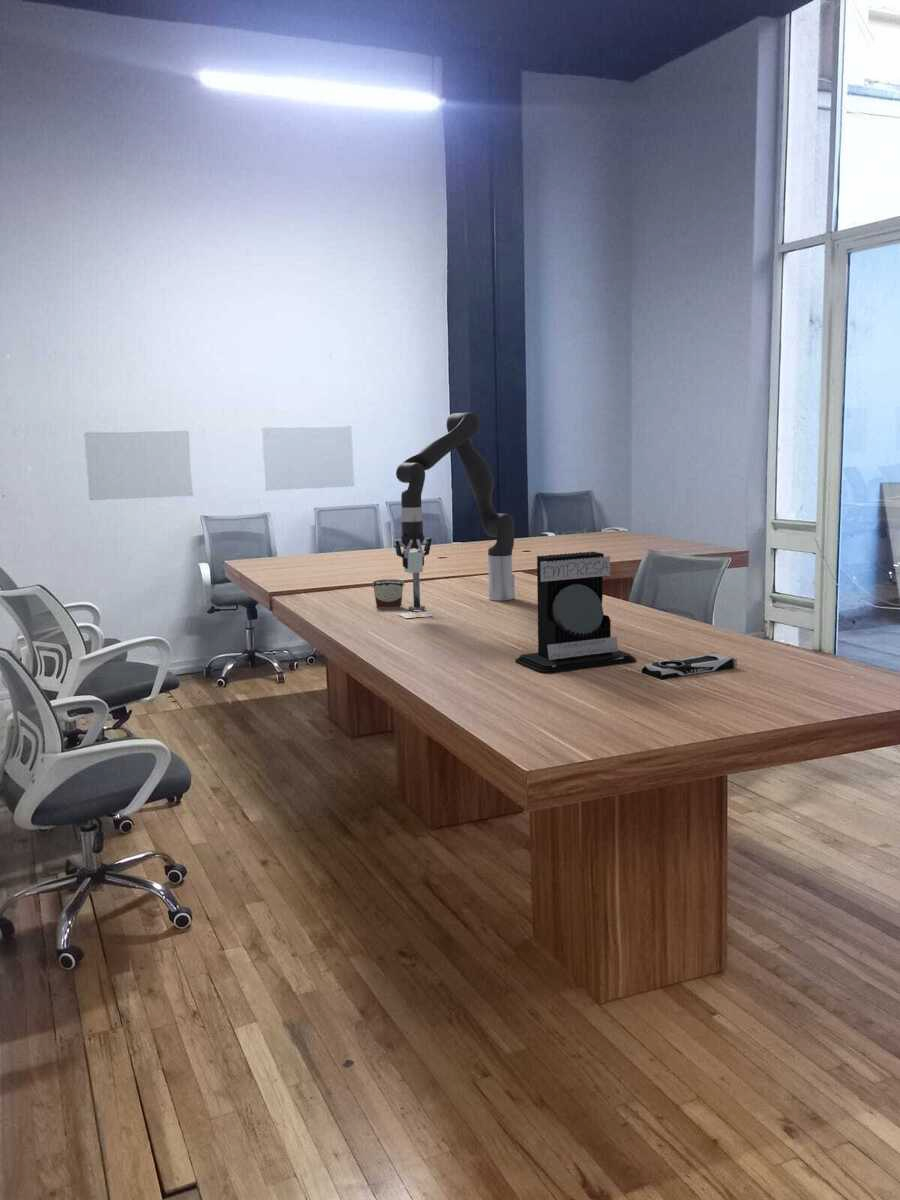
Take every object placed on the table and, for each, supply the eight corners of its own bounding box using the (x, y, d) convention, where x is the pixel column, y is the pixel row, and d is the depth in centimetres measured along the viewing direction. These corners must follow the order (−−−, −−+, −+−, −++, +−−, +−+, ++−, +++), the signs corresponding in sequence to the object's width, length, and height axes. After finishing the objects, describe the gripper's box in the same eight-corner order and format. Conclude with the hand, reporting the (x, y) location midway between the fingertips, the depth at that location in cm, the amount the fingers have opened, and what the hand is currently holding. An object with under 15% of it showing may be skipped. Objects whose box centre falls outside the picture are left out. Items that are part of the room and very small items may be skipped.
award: (543, 675, 270) (542, 563, 265) (511, 661, 287) (509, 556, 282) (640, 662, 282) (640, 555, 277) (604, 649, 299) (603, 548, 294)
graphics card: (737, 657, 271) (661, 669, 261) (737, 670, 272) (661, 681, 261) (712, 650, 280) (638, 661, 270) (712, 662, 281) (638, 674, 270)
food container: (407, 604, 386) (406, 578, 385) (405, 607, 380) (404, 581, 379) (375, 605, 388) (374, 579, 386) (372, 607, 382) (371, 581, 380)
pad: (422, 612, 369) (422, 611, 369) (433, 616, 360) (433, 615, 360) (397, 614, 365) (396, 613, 365) (406, 619, 356) (406, 618, 356)
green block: (417, 570, 363) (417, 551, 362) (422, 572, 359) (422, 552, 357) (404, 571, 361) (404, 552, 360) (409, 573, 357) (408, 553, 356)
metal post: (421, 608, 378) (420, 554, 375) (427, 610, 373) (426, 556, 370) (406, 609, 376) (404, 555, 373) (412, 611, 371) (410, 557, 367)
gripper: (427, 518, 363) (428, 565, 366) (389, 520, 358) (390, 568, 360) (434, 519, 356) (436, 567, 359) (396, 521, 351) (397, 570, 354)
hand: (413, 567), depth 360 cm, fingers closed on green block, 5 cm apart
